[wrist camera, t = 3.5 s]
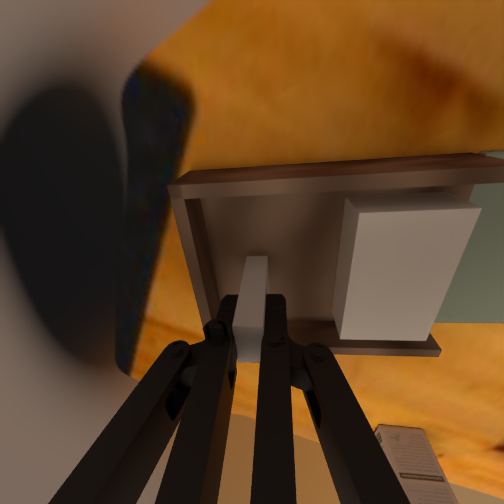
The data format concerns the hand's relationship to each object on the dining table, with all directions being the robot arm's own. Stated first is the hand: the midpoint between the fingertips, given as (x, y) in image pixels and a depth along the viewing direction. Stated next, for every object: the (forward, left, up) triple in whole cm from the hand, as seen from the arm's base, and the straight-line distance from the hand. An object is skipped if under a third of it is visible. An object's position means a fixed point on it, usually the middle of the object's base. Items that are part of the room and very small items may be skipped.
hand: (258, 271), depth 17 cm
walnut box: (-4, 0, -2) cm, 5 cm away
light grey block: (-9, 0, -1) cm, 9 cm away
